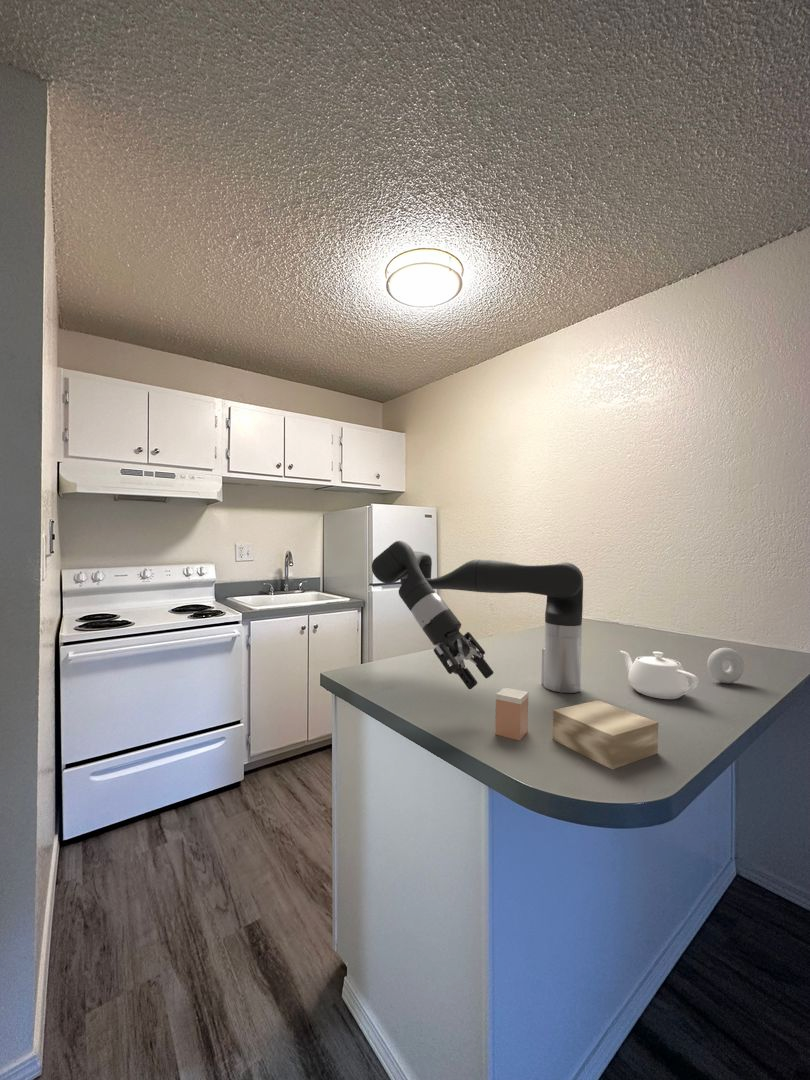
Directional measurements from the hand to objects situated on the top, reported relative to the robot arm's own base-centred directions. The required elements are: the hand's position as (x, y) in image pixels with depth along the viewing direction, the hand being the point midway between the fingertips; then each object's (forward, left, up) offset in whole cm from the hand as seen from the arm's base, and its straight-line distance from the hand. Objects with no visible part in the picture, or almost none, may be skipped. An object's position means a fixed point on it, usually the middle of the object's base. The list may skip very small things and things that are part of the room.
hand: (482, 681), depth 93 cm
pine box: (+15, +17, -10) cm, 25 cm away
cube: (+4, +4, -10) cm, 11 cm away
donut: (-3, +82, -10) cm, 83 cm away
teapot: (-4, +55, -10) cm, 56 cm away
